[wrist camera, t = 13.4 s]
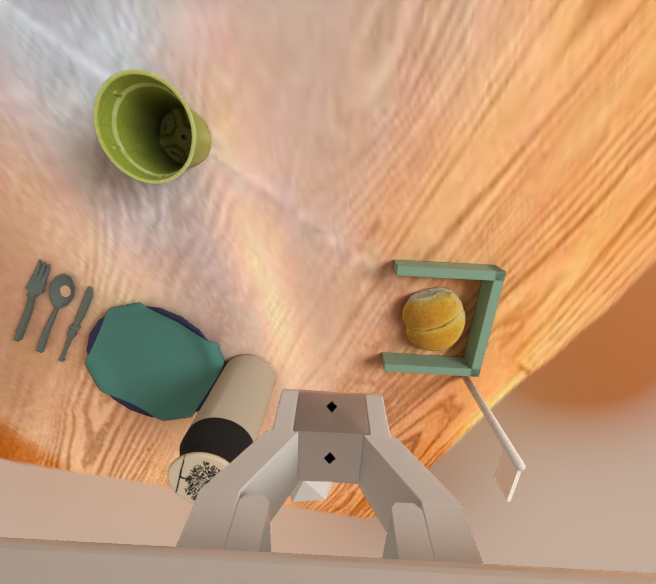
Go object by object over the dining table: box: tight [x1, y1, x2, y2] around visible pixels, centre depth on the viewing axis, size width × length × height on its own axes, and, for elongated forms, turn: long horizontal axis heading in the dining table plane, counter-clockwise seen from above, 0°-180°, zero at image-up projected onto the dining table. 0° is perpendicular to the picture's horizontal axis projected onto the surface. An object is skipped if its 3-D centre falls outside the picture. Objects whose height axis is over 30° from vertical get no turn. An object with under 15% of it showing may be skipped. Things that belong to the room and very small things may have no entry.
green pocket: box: [382, 260, 526, 501], centre depth 38 cm, size 22×13×16 cm, turn 177°
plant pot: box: [93, 69, 211, 184], centre depth 33 cm, size 9×9×9 cm
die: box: [290, 479, 333, 502], centre depth 51 cm, size 8×9×10 cm
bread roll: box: [402, 287, 465, 351], centre depth 43 cm, size 8×9×4 cm
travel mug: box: [168, 355, 275, 504], centre depth 40 cm, size 8×8×18 cm
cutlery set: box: [13, 260, 224, 421], centre depth 47 cm, size 20×30×2 cm, turn 56°
